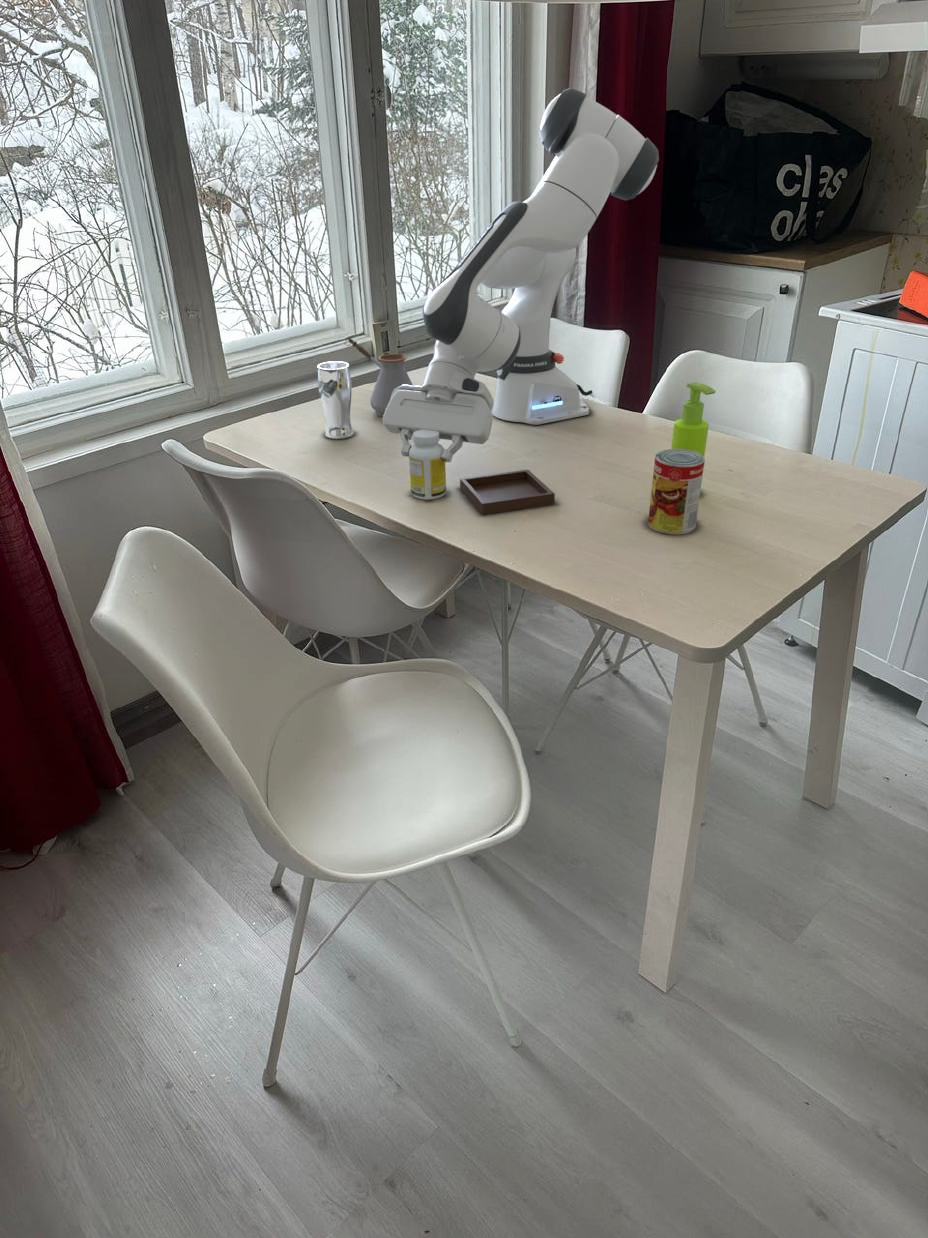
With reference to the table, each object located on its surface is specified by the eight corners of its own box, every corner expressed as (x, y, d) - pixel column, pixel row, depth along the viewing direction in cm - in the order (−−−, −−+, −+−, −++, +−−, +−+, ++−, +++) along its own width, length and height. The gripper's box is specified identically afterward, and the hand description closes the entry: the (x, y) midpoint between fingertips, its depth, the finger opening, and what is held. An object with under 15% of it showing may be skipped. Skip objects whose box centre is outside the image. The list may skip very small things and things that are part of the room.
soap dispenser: (684, 503, 153) (698, 391, 142) (659, 490, 158) (671, 381, 148) (709, 497, 155) (725, 386, 145) (684, 484, 160) (698, 377, 150)
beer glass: (353, 439, 184) (347, 369, 177) (320, 439, 185) (313, 369, 177) (357, 429, 190) (351, 360, 183) (326, 429, 191) (319, 361, 183)
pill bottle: (451, 489, 160) (449, 429, 154) (438, 502, 154) (436, 440, 148) (418, 485, 162) (415, 425, 156) (405, 498, 156) (402, 436, 150)
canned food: (657, 511, 150) (664, 445, 144) (701, 520, 146) (710, 453, 140) (641, 528, 144) (648, 460, 138) (687, 538, 140) (696, 468, 134)
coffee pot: (430, 412, 200) (427, 346, 193) (393, 423, 193) (389, 356, 186) (369, 394, 213) (365, 332, 205) (333, 405, 206) (327, 341, 198)
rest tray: (527, 479, 163) (528, 469, 162) (554, 504, 153) (554, 493, 152) (460, 489, 160) (459, 478, 159) (482, 515, 150) (482, 503, 148)
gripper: (389, 374, 157) (367, 442, 154) (493, 385, 150) (472, 457, 147) (401, 392, 163) (380, 458, 160) (502, 403, 156) (482, 472, 153)
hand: (425, 457), depth 154 cm, fingers closed on pill bottle, 6 cm apart
